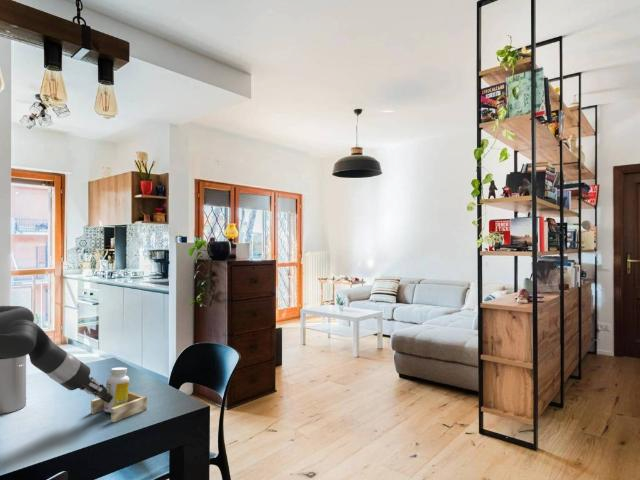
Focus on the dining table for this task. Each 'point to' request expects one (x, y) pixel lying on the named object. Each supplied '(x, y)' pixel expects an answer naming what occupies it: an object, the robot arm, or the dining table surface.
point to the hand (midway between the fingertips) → (109, 399)
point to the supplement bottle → (117, 388)
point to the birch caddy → (122, 406)
